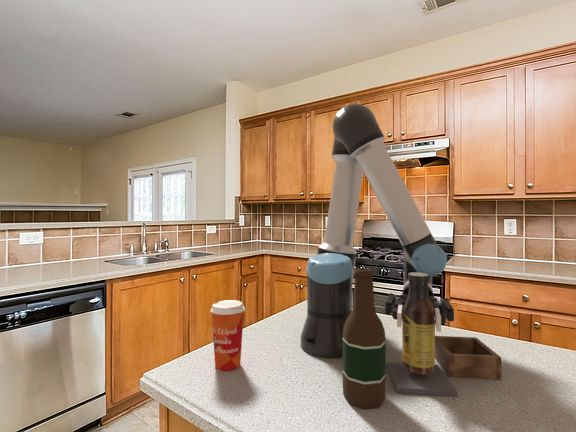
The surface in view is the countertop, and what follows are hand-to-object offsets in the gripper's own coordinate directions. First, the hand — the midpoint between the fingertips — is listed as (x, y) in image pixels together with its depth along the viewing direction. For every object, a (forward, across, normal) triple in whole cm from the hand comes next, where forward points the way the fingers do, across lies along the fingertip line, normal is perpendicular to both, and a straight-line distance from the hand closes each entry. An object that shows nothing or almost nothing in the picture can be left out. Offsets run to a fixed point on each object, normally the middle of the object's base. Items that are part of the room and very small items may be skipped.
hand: (418, 322), depth 63 cm
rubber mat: (-5, 0, -14) cm, 14 cm away
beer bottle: (+6, +10, -14) cm, 18 cm away
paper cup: (+4, +40, -14) cm, 43 cm away
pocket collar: (-16, -10, -14) cm, 23 cm away
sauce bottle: (-5, 0, -12) cm, 13 cm away
